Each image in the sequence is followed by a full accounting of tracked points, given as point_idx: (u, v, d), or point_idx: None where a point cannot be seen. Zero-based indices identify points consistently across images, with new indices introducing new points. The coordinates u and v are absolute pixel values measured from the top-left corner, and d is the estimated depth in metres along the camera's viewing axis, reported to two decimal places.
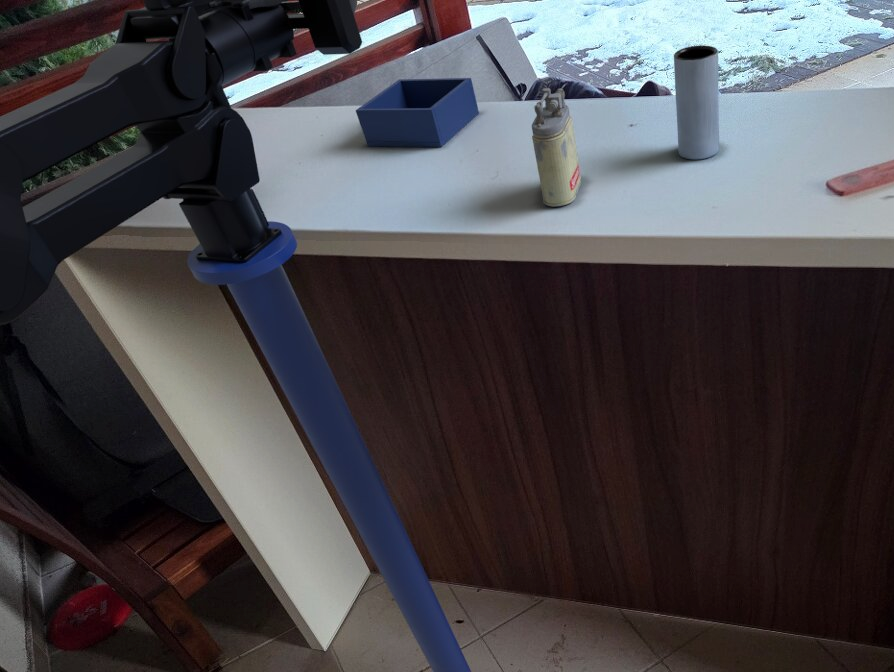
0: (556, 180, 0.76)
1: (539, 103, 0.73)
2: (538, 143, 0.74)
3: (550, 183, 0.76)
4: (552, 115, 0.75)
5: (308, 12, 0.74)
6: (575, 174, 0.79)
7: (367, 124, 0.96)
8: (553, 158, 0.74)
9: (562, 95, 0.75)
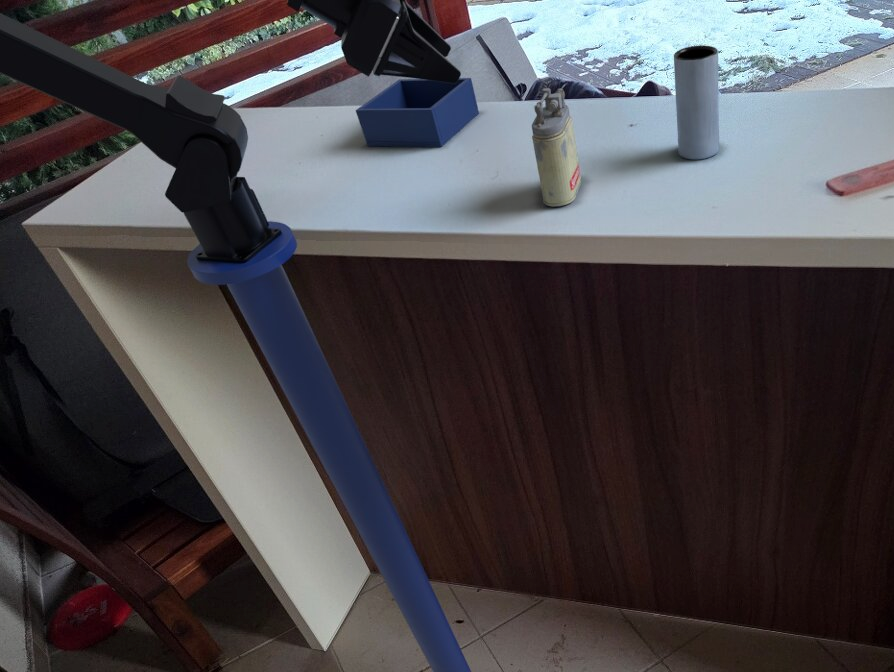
0: (556, 180, 0.76)
1: (539, 103, 0.73)
2: (538, 143, 0.74)
3: (550, 183, 0.76)
4: (552, 115, 0.75)
5: (357, 2, 0.61)
6: (575, 174, 0.79)
7: (367, 124, 0.96)
8: (553, 158, 0.74)
9: (562, 95, 0.75)
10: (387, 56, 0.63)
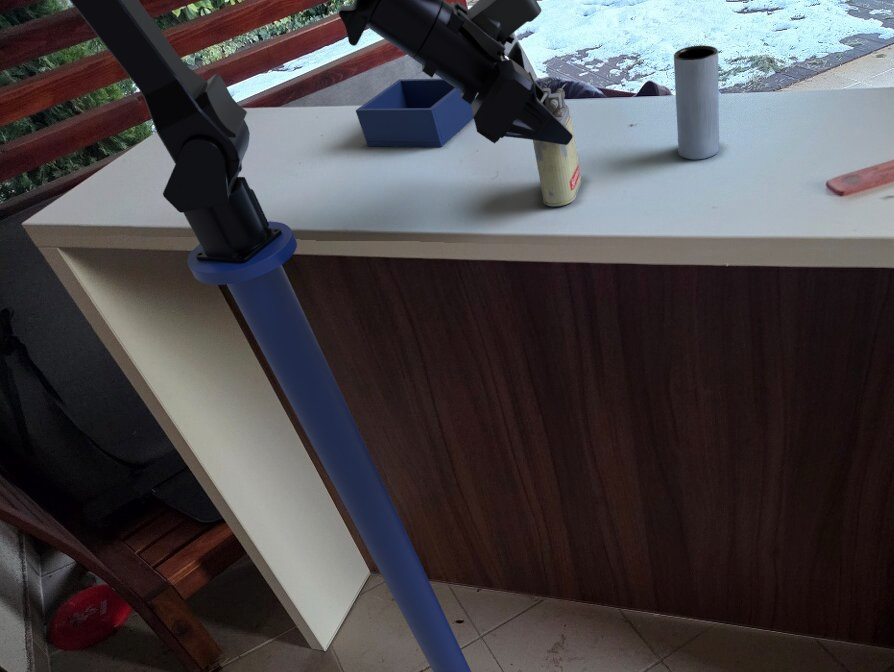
0: (556, 180, 0.76)
1: None
2: (538, 143, 0.74)
3: (550, 182, 0.76)
4: None
5: (490, 75, 0.66)
6: (575, 174, 0.79)
7: (367, 124, 0.96)
8: (553, 158, 0.74)
9: (562, 95, 0.75)
10: (512, 121, 0.68)
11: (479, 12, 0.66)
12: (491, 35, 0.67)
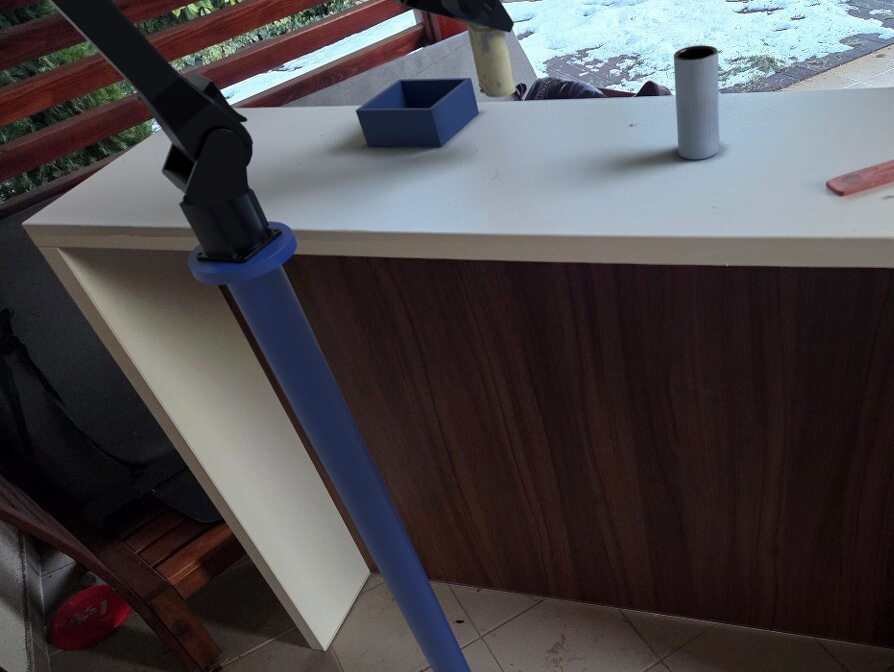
0: (503, 69, 0.83)
1: None
2: (485, 33, 0.81)
3: (498, 73, 0.83)
4: None
5: None
6: None
7: (367, 124, 0.96)
8: (499, 47, 0.82)
9: None
10: None
11: None
12: None
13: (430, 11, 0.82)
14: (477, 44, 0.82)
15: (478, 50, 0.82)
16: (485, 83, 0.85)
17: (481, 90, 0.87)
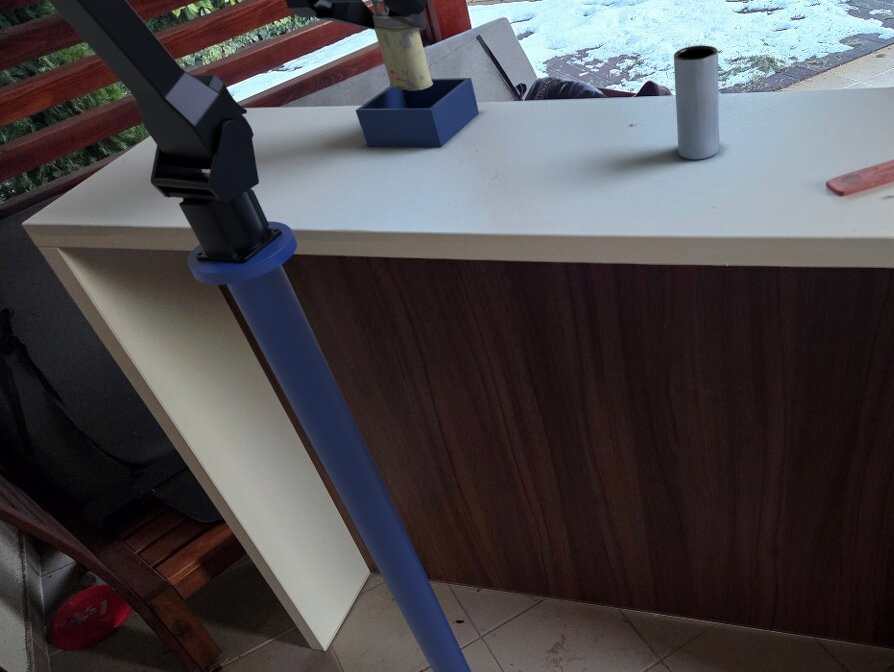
0: (423, 63, 0.93)
1: None
2: (406, 32, 0.89)
3: (420, 66, 0.92)
4: None
5: None
6: None
7: (367, 124, 0.96)
8: (418, 43, 0.91)
9: None
10: None
11: None
12: None
13: (344, 20, 0.89)
14: (397, 43, 0.90)
15: (398, 49, 0.91)
16: (407, 78, 0.93)
17: (399, 87, 0.95)
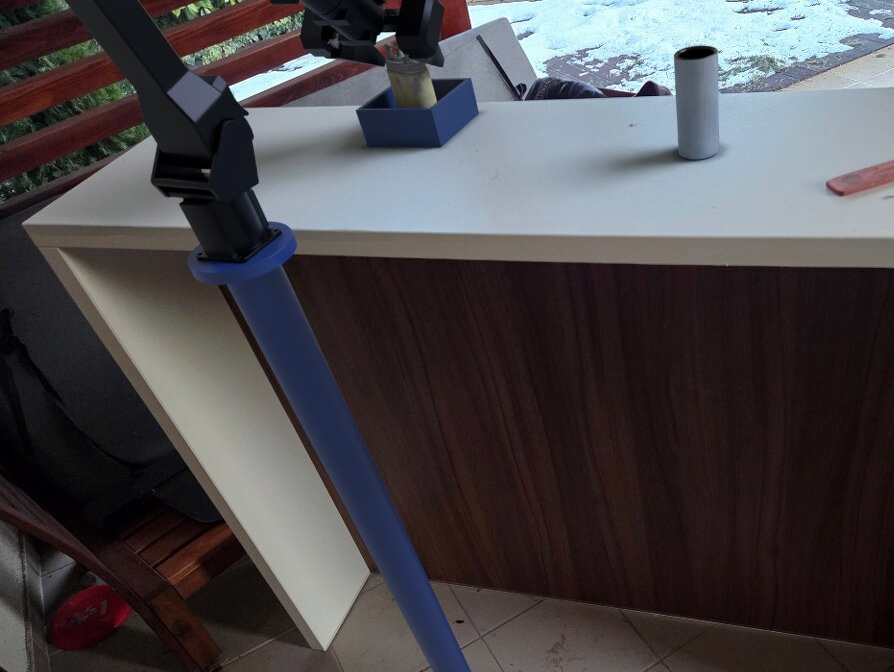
0: None
1: None
2: (417, 76, 0.93)
3: None
4: None
5: (405, 7, 0.84)
6: None
7: (367, 124, 0.96)
8: (429, 86, 0.94)
9: None
10: None
11: None
12: None
13: (351, 59, 0.93)
14: (409, 87, 0.94)
15: (410, 92, 0.94)
16: None
17: None
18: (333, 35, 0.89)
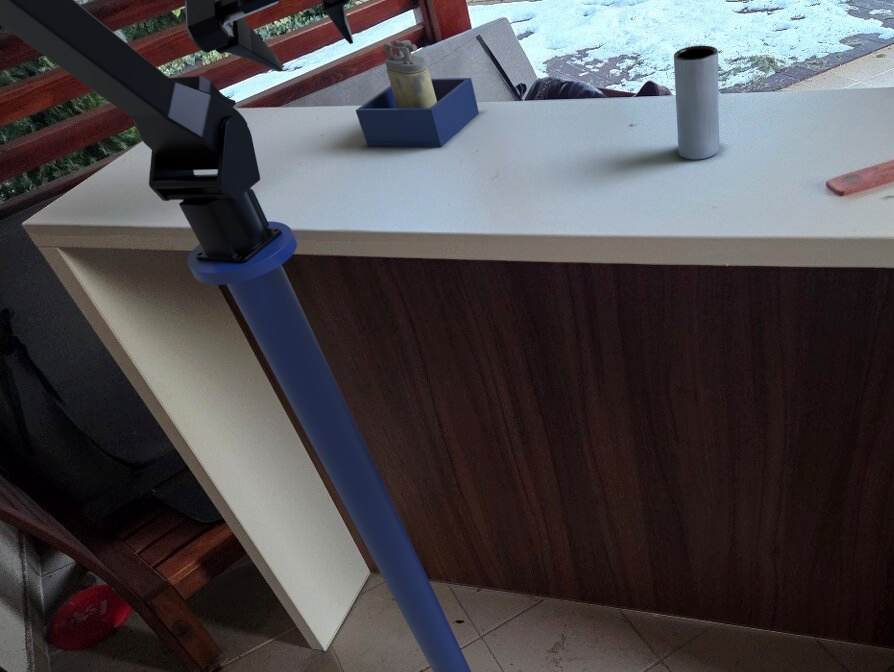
0: None
1: (403, 47, 0.92)
2: (417, 76, 0.93)
3: None
4: None
5: None
6: None
7: (367, 124, 0.96)
8: (429, 86, 0.94)
9: None
10: None
11: None
12: None
13: (249, 49, 0.82)
14: (409, 87, 0.94)
15: (410, 92, 0.94)
16: None
17: None
18: (227, 17, 0.79)
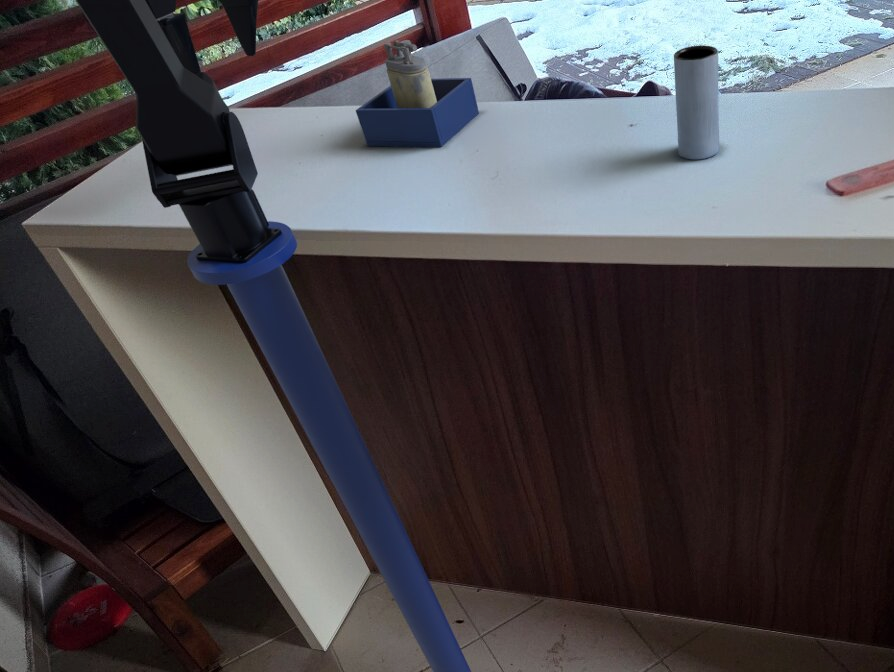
0: None
1: (403, 47, 0.92)
2: (417, 76, 0.93)
3: None
4: None
5: None
6: None
7: (367, 124, 0.96)
8: (429, 86, 0.94)
9: None
10: None
11: None
12: None
13: (188, 30, 0.77)
14: (409, 87, 0.94)
15: (410, 92, 0.94)
16: None
17: None
18: None
